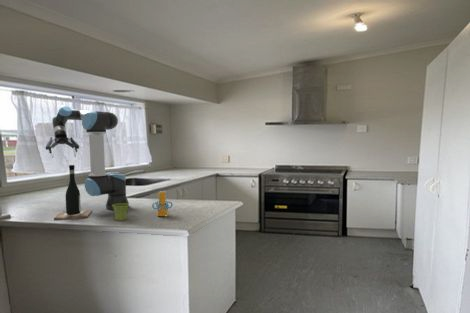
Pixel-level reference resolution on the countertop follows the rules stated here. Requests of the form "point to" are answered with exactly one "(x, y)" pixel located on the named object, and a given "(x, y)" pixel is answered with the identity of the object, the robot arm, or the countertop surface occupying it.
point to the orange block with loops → (162, 204)
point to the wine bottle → (72, 195)
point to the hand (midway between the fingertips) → (64, 156)
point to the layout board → (81, 215)
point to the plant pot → (120, 211)
